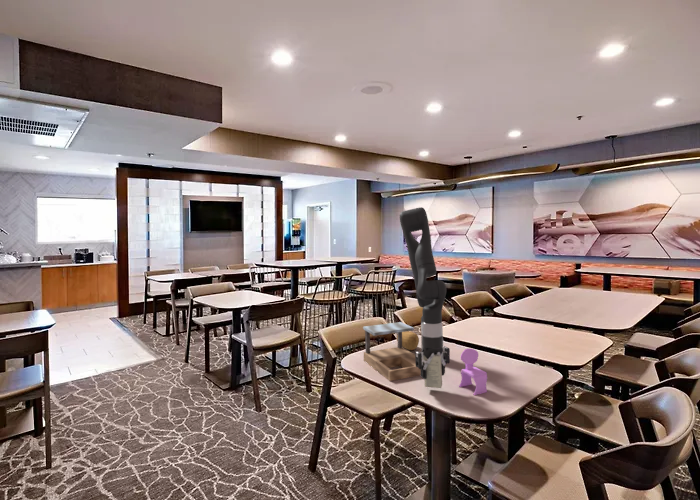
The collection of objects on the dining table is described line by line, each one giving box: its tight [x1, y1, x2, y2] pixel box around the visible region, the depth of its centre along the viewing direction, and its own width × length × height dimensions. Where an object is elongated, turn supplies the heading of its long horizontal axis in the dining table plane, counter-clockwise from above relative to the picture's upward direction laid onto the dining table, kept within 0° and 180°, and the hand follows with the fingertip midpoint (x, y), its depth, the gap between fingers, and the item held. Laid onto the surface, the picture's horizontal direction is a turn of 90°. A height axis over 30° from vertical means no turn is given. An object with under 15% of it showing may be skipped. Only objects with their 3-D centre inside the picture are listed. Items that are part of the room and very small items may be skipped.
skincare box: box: [423, 354, 443, 389], centre depth 139 cm, size 6×4×12 cm
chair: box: [458, 347, 488, 396], centre depth 140 cm, size 8×9×15 cm
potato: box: [396, 331, 420, 352], centre depth 190 cm, size 9×16×9 cm, turn 18°
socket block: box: [362, 321, 421, 382], centre depth 165 cm, size 20×26×16 cm
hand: (432, 376), depth 139 cm, fingers closed on skincare box, 7 cm apart
